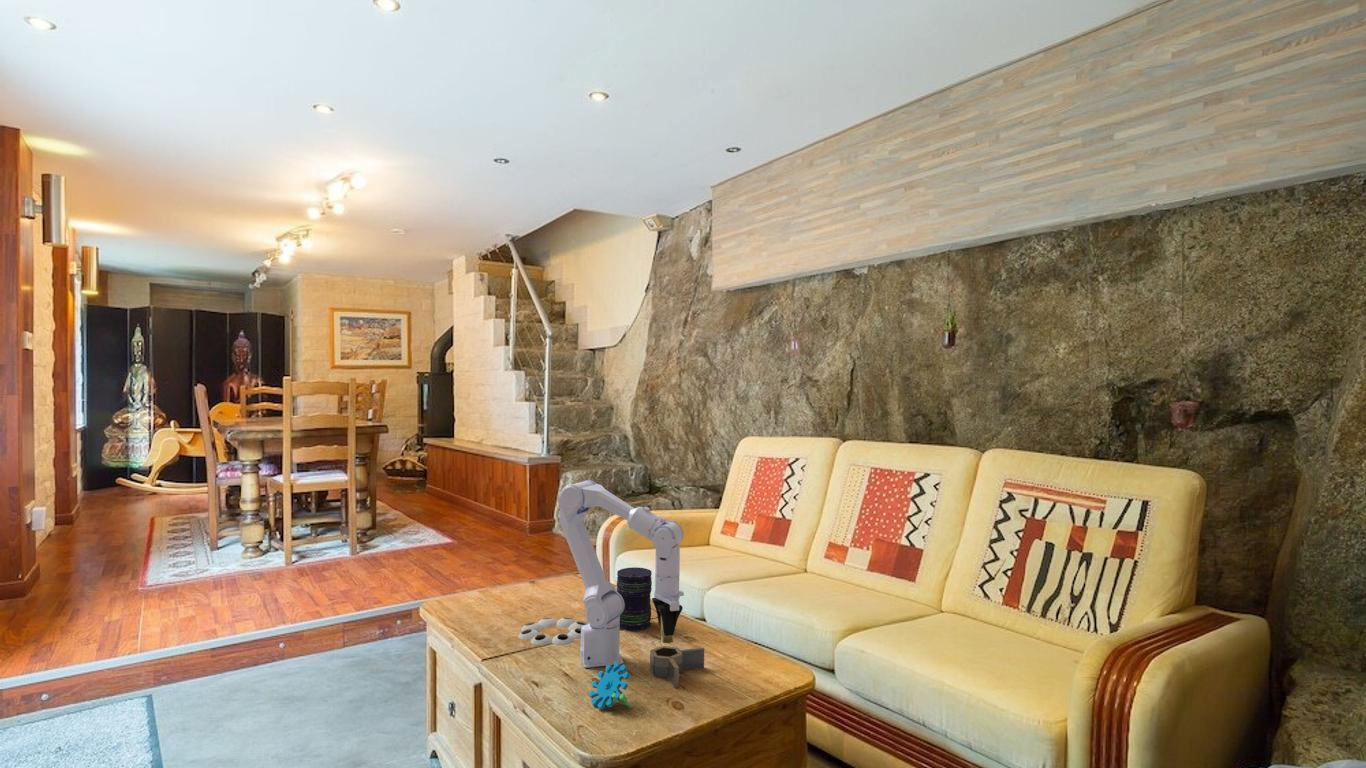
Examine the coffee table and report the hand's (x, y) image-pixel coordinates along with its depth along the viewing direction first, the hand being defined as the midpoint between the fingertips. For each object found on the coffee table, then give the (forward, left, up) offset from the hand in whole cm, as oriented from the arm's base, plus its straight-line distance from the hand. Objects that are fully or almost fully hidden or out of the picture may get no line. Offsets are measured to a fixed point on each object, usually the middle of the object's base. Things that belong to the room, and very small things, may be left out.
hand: (666, 631), depth 162 cm
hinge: (+3, -3, -9) cm, 10 cm away
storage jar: (-1, +32, -10) cm, 33 cm away
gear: (-15, -13, -10) cm, 22 cm away
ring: (-23, +32, -10) cm, 41 cm away
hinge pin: (0, 0, -2) cm, 2 cm away
